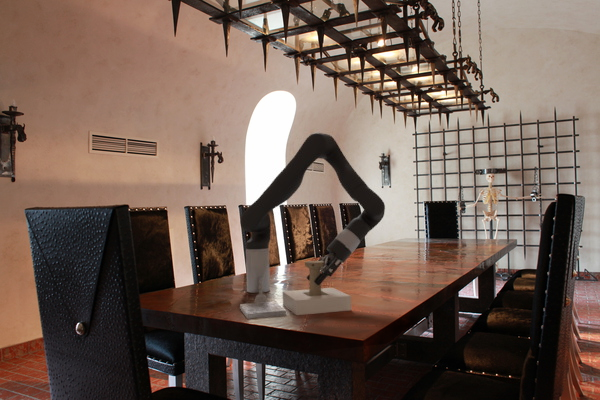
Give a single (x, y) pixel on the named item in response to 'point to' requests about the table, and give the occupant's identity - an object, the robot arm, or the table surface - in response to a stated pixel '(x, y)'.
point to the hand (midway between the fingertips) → (312, 281)
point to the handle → (314, 277)
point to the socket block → (316, 301)
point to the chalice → (260, 270)
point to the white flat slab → (262, 310)
